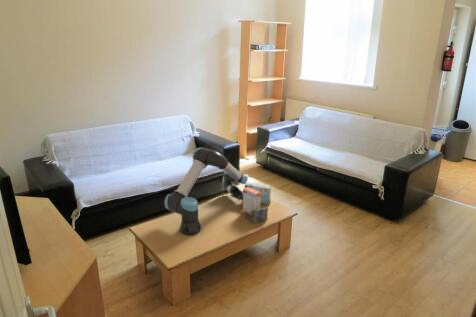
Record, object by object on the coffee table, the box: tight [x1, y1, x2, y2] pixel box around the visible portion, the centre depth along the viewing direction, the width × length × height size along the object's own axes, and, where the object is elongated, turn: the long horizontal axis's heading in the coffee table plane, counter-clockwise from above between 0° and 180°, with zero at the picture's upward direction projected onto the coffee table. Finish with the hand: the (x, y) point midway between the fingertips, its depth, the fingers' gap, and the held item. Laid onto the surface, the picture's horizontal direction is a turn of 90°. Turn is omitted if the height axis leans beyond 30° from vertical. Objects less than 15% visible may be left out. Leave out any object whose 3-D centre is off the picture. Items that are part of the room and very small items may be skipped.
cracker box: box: [242, 187, 261, 217], centre depth 265 cm, size 14×6×21 cm, turn 40°
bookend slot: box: [244, 206, 269, 224], centre depth 262 cm, size 12×13×10 cm
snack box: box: [244, 182, 272, 206], centre depth 287 cm, size 21×6×15 cm, turn 68°
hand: (247, 201), depth 272 cm, fingers closed
